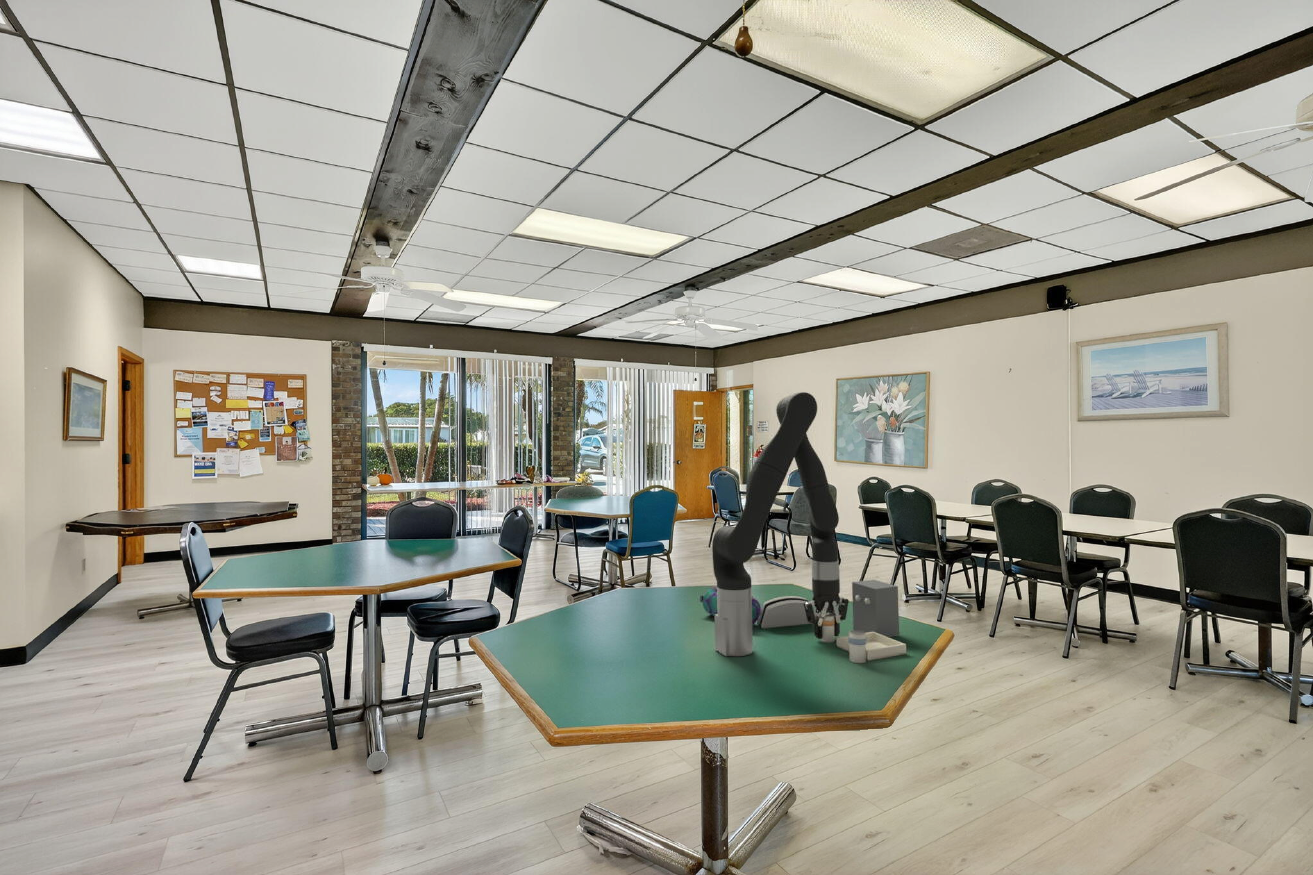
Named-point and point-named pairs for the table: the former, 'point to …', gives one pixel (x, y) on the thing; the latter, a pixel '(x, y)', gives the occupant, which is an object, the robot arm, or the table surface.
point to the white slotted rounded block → (783, 612)
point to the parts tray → (876, 646)
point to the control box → (875, 607)
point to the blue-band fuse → (857, 646)
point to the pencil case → (711, 604)
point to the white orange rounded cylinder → (828, 628)
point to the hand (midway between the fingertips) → (827, 636)
